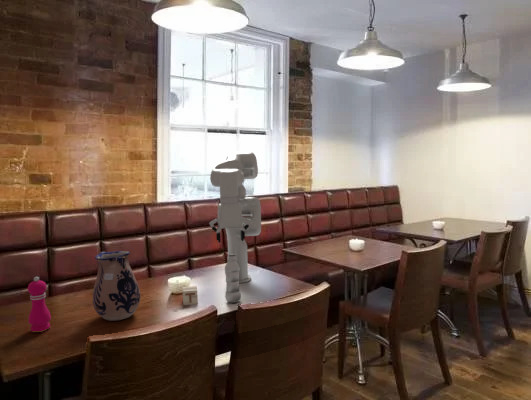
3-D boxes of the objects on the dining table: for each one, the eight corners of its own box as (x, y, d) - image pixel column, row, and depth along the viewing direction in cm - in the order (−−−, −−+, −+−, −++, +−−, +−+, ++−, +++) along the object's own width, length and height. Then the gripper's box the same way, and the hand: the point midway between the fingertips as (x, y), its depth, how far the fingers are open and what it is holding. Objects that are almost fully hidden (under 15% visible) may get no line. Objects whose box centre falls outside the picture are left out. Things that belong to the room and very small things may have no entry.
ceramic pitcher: (114, 329, 153) (110, 262, 150) (78, 318, 164) (74, 255, 161) (150, 313, 168) (147, 251, 165) (115, 304, 179) (112, 246, 176)
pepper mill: (35, 326, 157) (30, 274, 155) (55, 325, 158) (50, 273, 156) (25, 334, 150) (20, 280, 148) (46, 333, 151) (42, 279, 149)
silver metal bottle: (243, 300, 181) (242, 254, 179) (237, 305, 174) (235, 258, 172) (229, 298, 183) (228, 253, 181) (222, 303, 176) (221, 257, 174)
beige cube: (183, 300, 182) (182, 287, 181) (197, 299, 183) (196, 285, 183) (183, 305, 176) (182, 291, 175) (197, 304, 177) (197, 290, 176)
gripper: (248, 198, 179) (249, 237, 181) (207, 200, 176) (209, 240, 178) (251, 200, 172) (252, 241, 174) (209, 202, 168) (210, 244, 171)
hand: (230, 241), depth 176 cm, fingers open, 9 cm apart
